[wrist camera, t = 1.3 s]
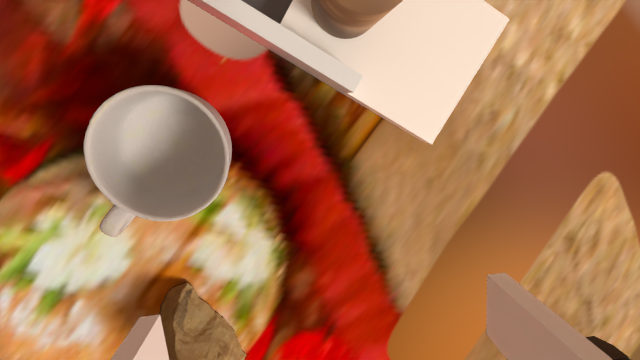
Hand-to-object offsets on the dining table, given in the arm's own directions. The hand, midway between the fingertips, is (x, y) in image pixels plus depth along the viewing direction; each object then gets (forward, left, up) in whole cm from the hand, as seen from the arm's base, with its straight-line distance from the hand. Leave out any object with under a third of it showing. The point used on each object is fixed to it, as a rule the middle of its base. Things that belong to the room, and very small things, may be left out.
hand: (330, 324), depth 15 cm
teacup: (-13, -4, -24) cm, 28 cm away
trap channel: (-5, +16, -24) cm, 30 cm away
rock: (-2, -19, -24) cm, 31 cm away
